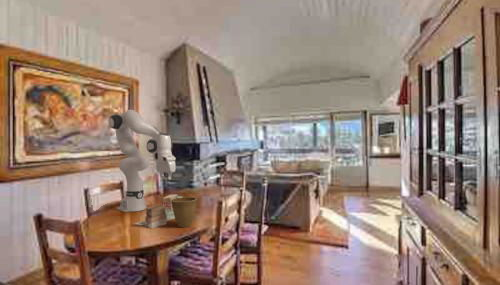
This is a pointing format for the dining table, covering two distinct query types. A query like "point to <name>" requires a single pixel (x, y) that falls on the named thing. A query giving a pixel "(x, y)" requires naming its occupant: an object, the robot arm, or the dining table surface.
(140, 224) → the page
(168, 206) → the stack of blocks
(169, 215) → the brick sage
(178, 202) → the plant pot
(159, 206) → the brick walnut
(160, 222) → the base brick
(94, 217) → the dining table surface
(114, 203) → the dining table surface
